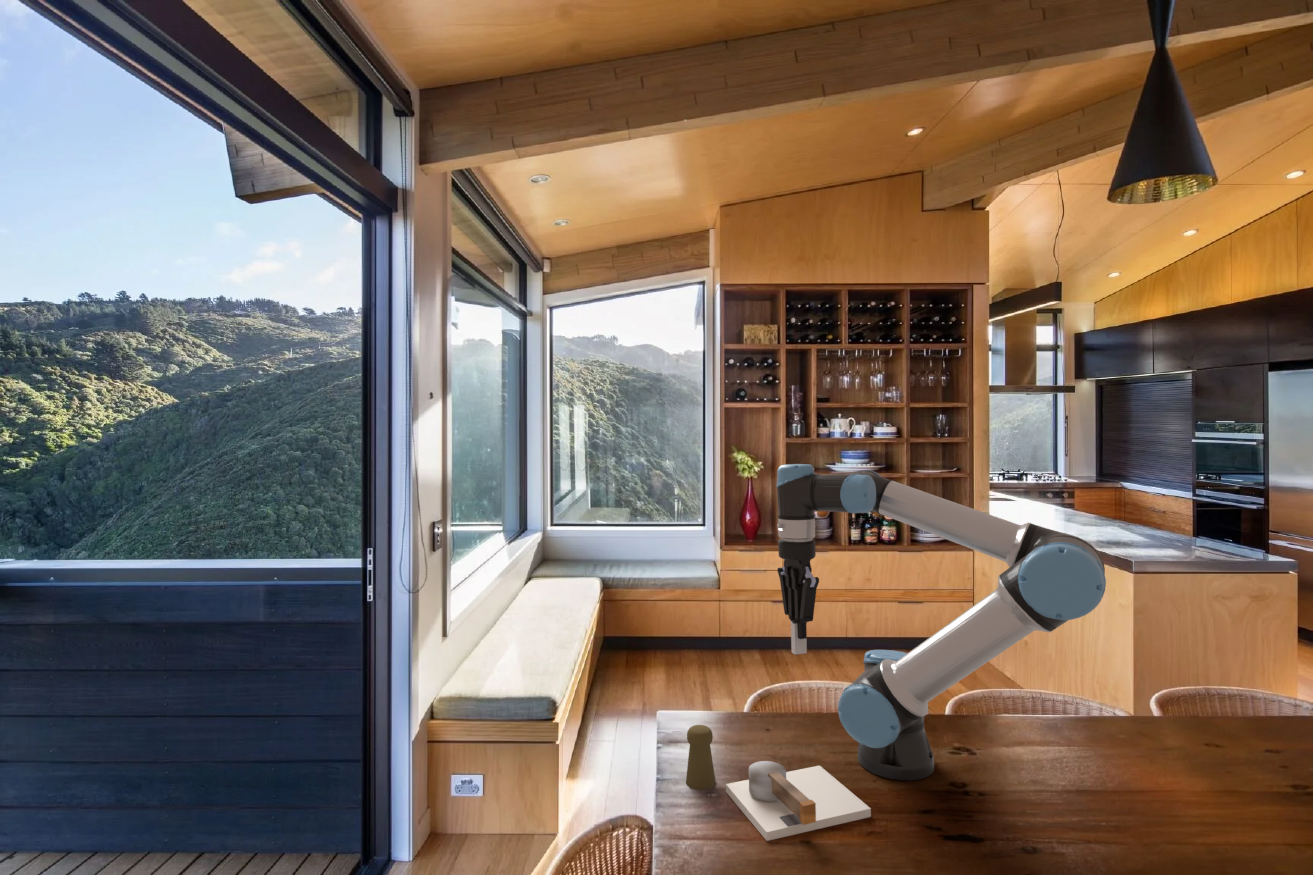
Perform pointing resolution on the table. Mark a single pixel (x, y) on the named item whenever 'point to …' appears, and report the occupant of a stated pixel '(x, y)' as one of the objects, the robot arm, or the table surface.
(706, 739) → the olive pawn
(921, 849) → the table surface
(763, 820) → the base plate
